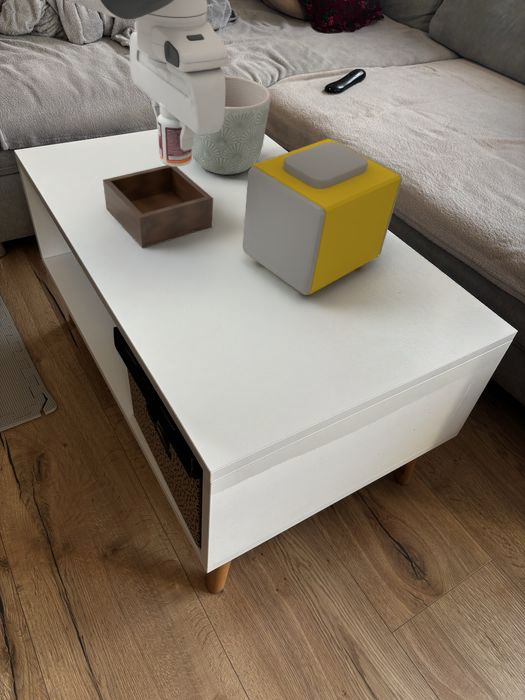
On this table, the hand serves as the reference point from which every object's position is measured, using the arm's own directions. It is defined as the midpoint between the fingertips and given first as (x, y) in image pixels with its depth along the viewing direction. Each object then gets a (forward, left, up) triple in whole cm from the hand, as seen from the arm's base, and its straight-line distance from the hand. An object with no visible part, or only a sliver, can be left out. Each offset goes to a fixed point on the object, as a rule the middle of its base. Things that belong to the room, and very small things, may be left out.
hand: (174, 139), depth 79 cm
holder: (+2, +11, -19) cm, 22 cm away
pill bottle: (0, 0, -3) cm, 3 cm away
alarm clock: (+18, -13, -20) cm, 30 cm away
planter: (+24, +23, -20) cm, 38 cm away
